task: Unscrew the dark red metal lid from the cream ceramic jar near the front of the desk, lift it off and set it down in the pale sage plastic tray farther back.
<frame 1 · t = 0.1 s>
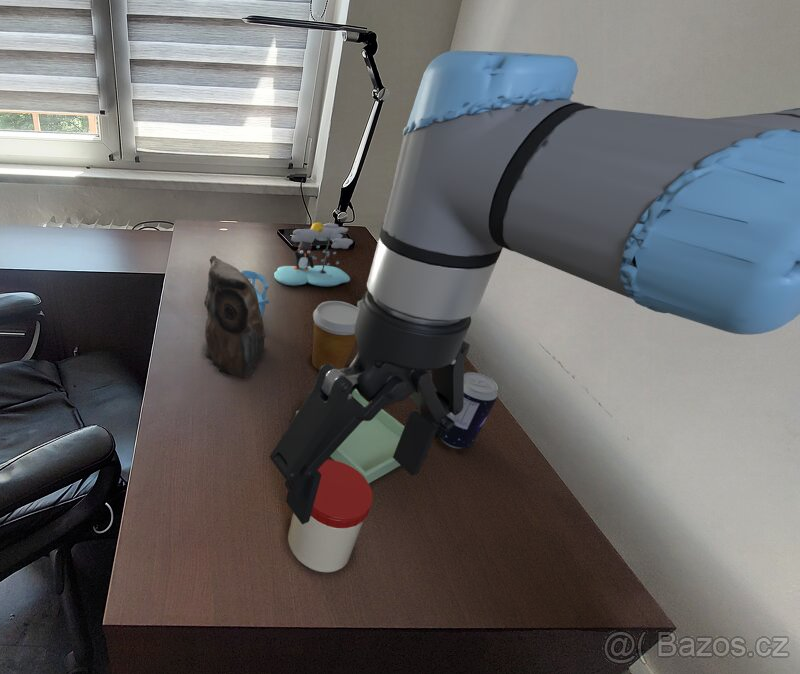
hand: (353, 487, 45), 17 cm above the table, tool pointing down, fingers open, 13 cm apart
jar: (319, 542, 59), on the table
disposable coffee cup: (327, 364, 91), on the table
owl: (237, 359, 92), on the table
jar lid: (335, 489, 53), point 11 cm above the table, screwed on, not yet turned
tray: (355, 437, 75), on the table
penguin figurine: (310, 280, 122), on the table
mineral rock: (384, 325, 104), on the table
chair: (245, 324, 103), on the table
beverage can: (452, 439, 75), on the table
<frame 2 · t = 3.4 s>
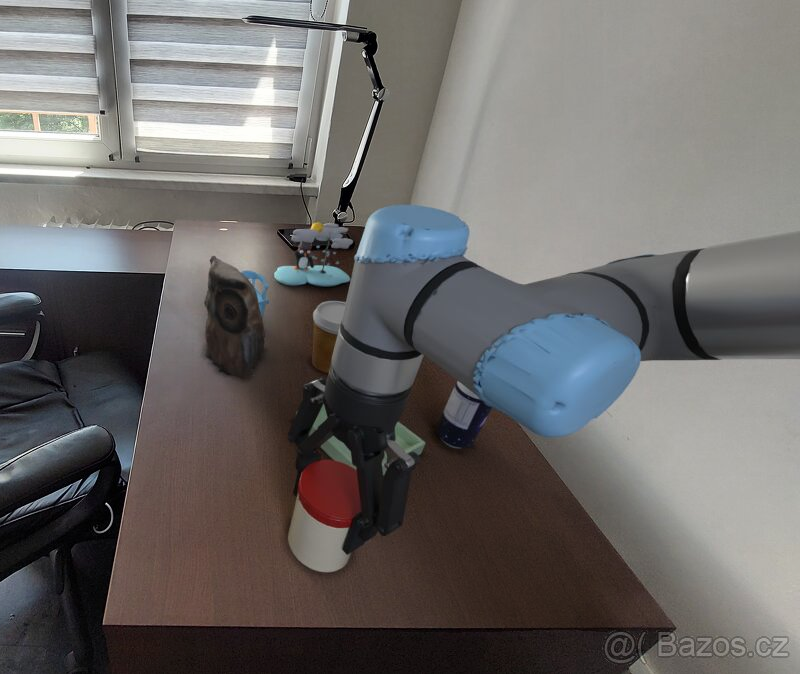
hand: (326, 517, 56), 5 cm above the table, tool pointing down, fingers closed on jar lid, 8 cm apart
jar lid: (335, 489, 53), point 11 cm above the table, screwed on, not yet turned, touching gripper
everything else where it was.
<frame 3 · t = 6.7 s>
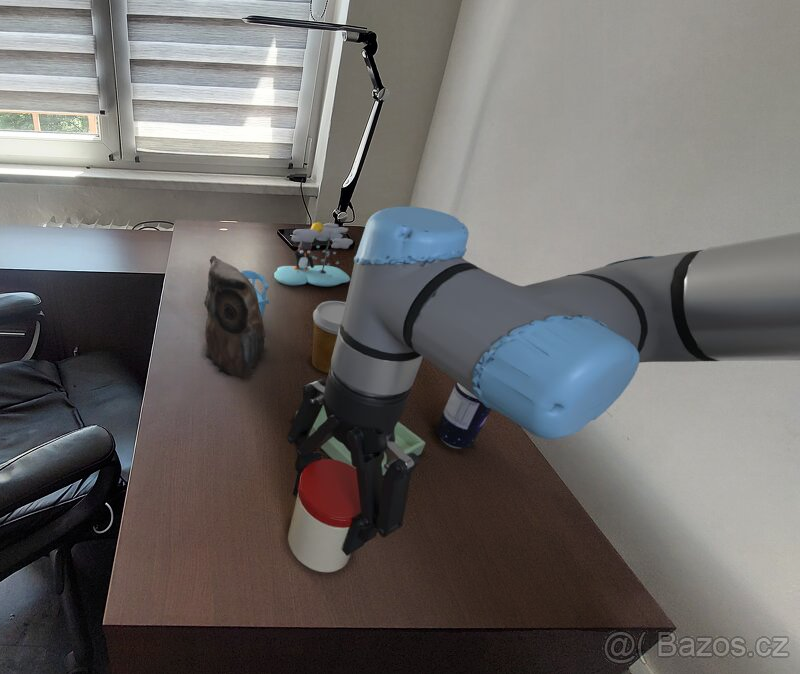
hand: (326, 518, 56), 5 cm above the table, tool pointing down, fingers closed on jar lid, 8 cm apart
jar lid: (335, 488, 53), point 11 cm above the table, turned 99° so far, risen 0.1 cm, still on its thread, touching gripper
everything else where it was.
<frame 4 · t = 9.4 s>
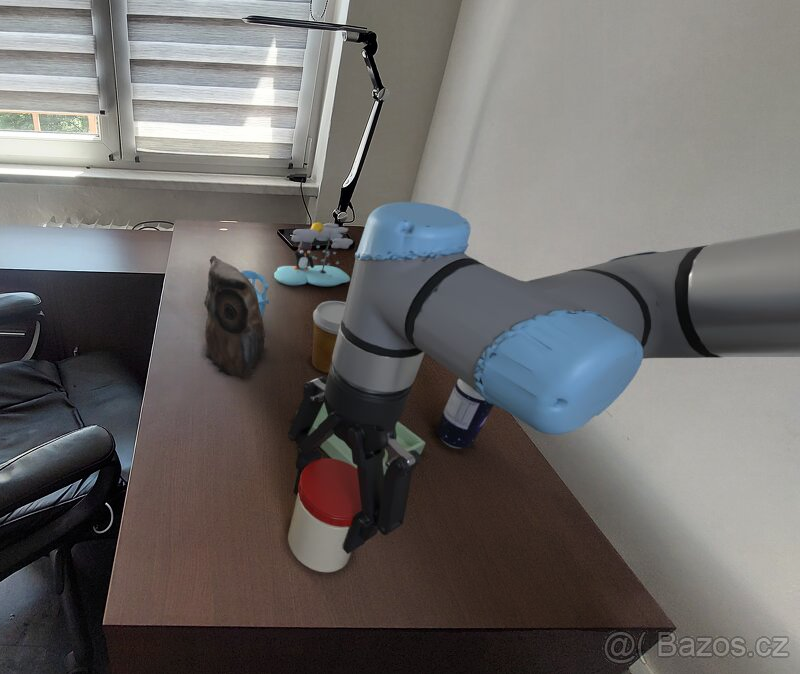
hand: (327, 516, 56), 5 cm above the table, tool pointing down, fingers closed on jar lid, 8 cm apart
jar lid: (335, 488, 53), point 11 cm above the table, turned 199° so far, risen 0.3 cm, still on its thread, touching gripper
everything else where it was.
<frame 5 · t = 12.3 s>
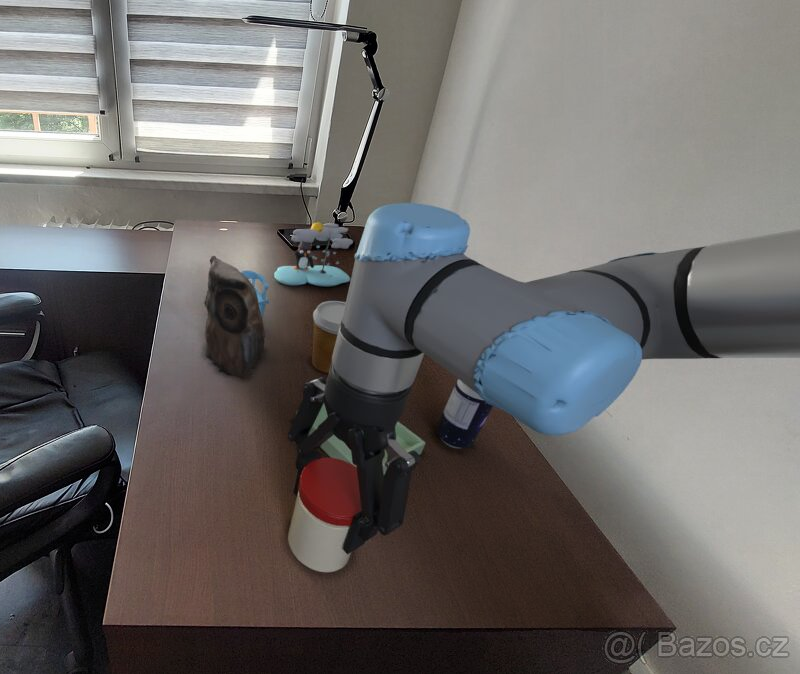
hand: (326, 516, 56), 5 cm above the table, tool pointing down, fingers closed on jar lid, 8 cm apart
jar lid: (335, 487, 53), point 11 cm above the table, turned 298° so far, risen 0.4 cm, still on its thread, touching gripper
everything else where it was.
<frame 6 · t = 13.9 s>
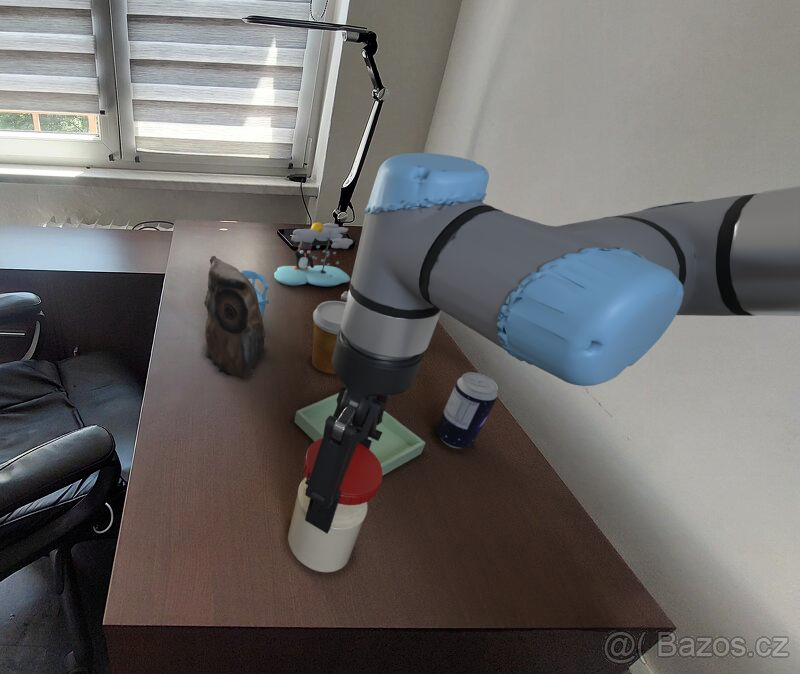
hand: (333, 498, 54), 9 cm above the table, tool pointing down, fingers closed on jar lid, 8 cm apart
jar lid: (343, 465, 51), point 15 cm above the table, off its thread, touching gripper
everything else where it was.
when the fingers open (2 cm above the table, at t = 21.4 s): jar lid drops 6 cm, resting on tray.
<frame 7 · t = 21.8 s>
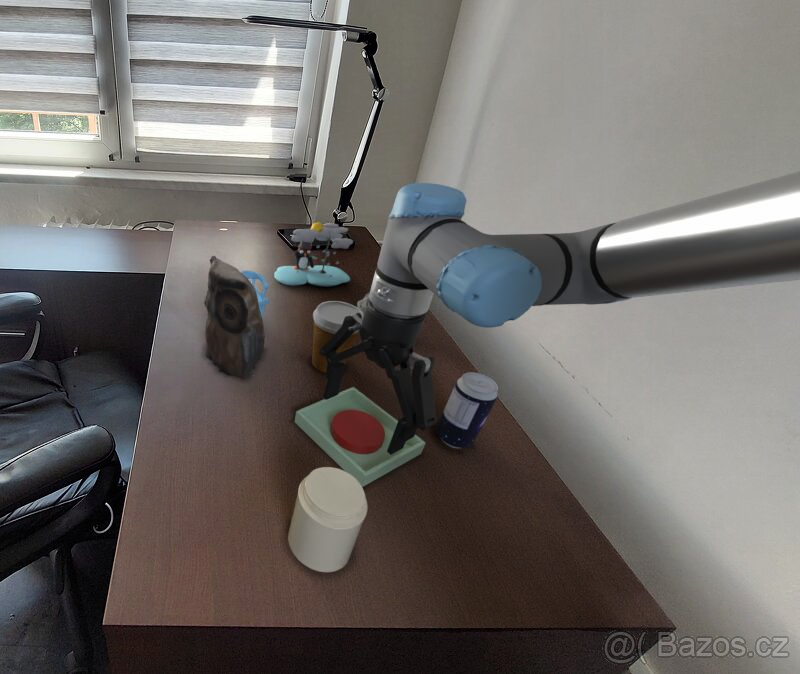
hand: (360, 421, 73), 4 cm above the table, tool pointing down, fingers open, 13 cm apart
jar lid: (357, 429, 73), point 2 cm above the table, off its thread, touching tray
everything else where it was.
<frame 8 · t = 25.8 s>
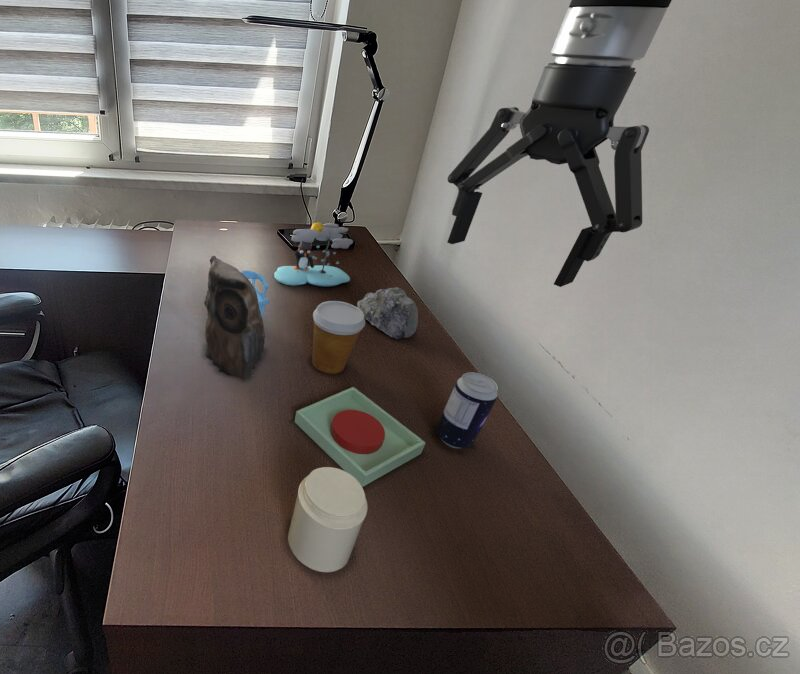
hand: (504, 261, 57), 32 cm above the table, tool pointing down, fingers open, 13 cm apart
nothing on the table moved.
at the end: jar lid came off its thread; jar lid inside the target area in the tray (0.0 cm from its centre), point 1.9 cm above the tray's base; the gripper is holding nothing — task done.
